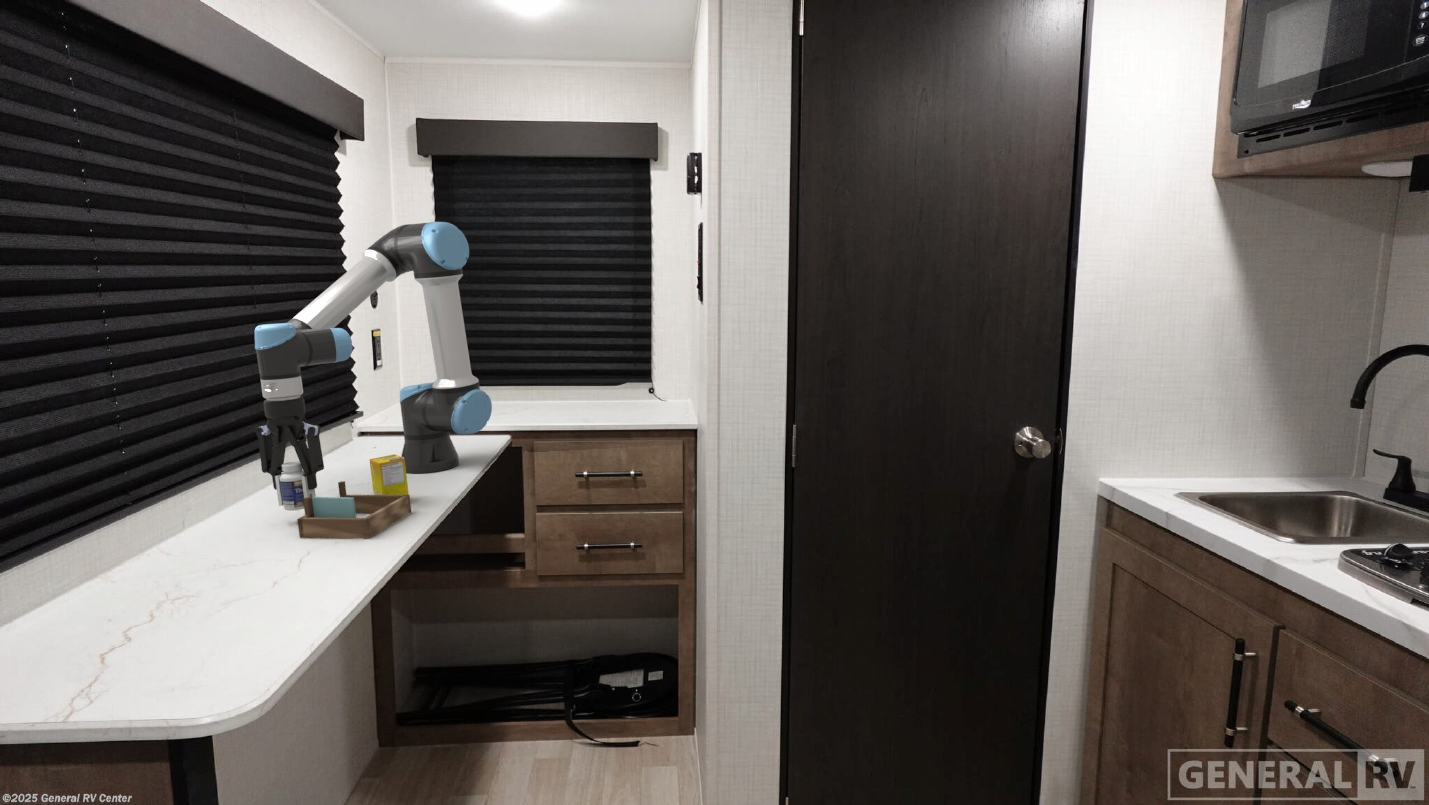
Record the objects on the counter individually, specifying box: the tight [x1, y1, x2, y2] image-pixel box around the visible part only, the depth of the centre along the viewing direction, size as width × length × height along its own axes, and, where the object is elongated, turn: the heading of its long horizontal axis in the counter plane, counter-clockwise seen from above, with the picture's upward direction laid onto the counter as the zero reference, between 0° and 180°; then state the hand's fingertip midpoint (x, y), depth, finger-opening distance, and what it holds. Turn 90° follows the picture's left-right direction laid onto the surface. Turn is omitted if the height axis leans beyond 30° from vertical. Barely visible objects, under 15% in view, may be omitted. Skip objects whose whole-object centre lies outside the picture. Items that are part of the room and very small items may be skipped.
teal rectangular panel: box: [312, 496, 357, 518], centre depth 161 cm, size 9×1×7 cm, turn 79°
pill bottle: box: [280, 460, 304, 511], centre depth 167 cm, size 5×5×10 cm
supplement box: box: [369, 454, 410, 495], centre depth 179 cm, size 6×6×11 cm
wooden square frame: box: [296, 480, 412, 540], centre depth 165 cm, size 17×15×8 cm
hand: (297, 503), depth 168 cm, fingers closed on pill bottle, 5 cm apart
